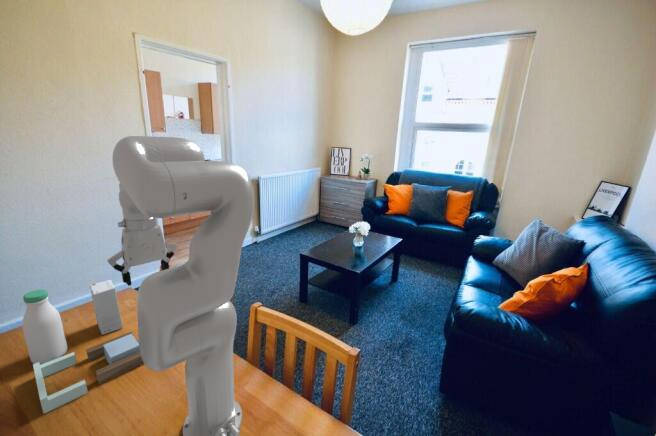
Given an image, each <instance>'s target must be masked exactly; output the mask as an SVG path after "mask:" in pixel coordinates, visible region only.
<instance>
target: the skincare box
mask: <svg viewBox="0 0 656 436" xmlns="http://www.w3.org/2000/svg"><path fill="white" fill-rule="evenodd" d="M89 289H90V293H91V299H92V304H93V308H94V313H95V314H94V315H95V319H96V323H97V326H98V328H99V331H100V333H101V335H102V336H103V335H107V334H109V333H113V332H117V331H118V330H121V329H123V327H124V326H123V321H122V316H121V312H120V307H119V302H118V297H117V291H116V288H115V285H114V283H113V281H112V279H108V280H104V281H100V282H96V283H92V284H90V285H89Z"/></svg>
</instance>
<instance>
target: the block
mask: <svg viewBox="0 0 656 436" xmlns="http://www.w3.org/2000/svg"><path fill="white" fill-rule="evenodd" d="M132 334H133V333H132ZM132 334H129V335H127V336H124V337H122V338H120V339H117V340H115V341H112V342H110V343H107V344H105V345H103V347H104V353H105V356H104V357H105V359H106V362H107V364H108V365H110V364H112V363H115V362H117V361H119V360H121V359H124V358H126V357H128V356H130V355H133V354H135V353H137V352H139V351H140V350H139V341H137V340H138V339H136V338H135V337H134V334H133V335H132Z"/></svg>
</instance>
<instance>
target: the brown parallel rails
mask: <svg viewBox="0 0 656 436" xmlns="http://www.w3.org/2000/svg"><path fill="white" fill-rule="evenodd" d="M129 334H132V335H133V336H134V334H133V332H132V331H130V332H127V333H124V334H122V335H119V336H116V337H115V338H112V339H111V338H110V339H109V340H106V341H104V342H101V343H98V344H96V345H93V346H92V347H88V348H86V350H85V351H86V355H87V360H88V361H89V363H90V362H92V361H95V360H97V359H100V358H102V357H105V353H104V347H103V345H105V344H107V343H110V342H112V341H115V340H117V339H120V338H122V337H124V336H127V335H129ZM141 365H145V364H144V362H143V360H142V358H141V355H140V351H139V352H137V353H135V354H133V355H130V356H128V357H126V358H124V359H121V360H119V361H117V362H115V363H112V364H110V365H109V364H108V365H106V366H104V367H101V368H99V369H97V370H95V375H96V379H97V380H96V381H97V382H98V385H102V384H104V383H106V382H109V381H111V380H112V379H114V378H116V377H118V376H120V375H123V374H124V373H125V374H126V373H127V372H129V371H131V370H133V369H135V368H137V367H139V366H141Z"/></svg>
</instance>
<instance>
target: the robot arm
mask: <svg viewBox="0 0 656 436" xmlns="http://www.w3.org/2000/svg"><path fill="white" fill-rule="evenodd" d="M112 167H113V171H114V173H115V176H116V178H117V179H118V182H119V185H118V186H119V189H118V190H119V192H118V201H119V205H120V207H121V209H122V215H123V217H122V221H119V222H117V227H118V228H122V231H121V250H119V251H118V252H116V253H115V254H113V255H112V256H111V257H109V258H107V260H106V261H107V263H108V264H109V265H110V266H111V267H112V268H113V269H114V270H116V271H118V272H120V273H121V277H122V282H123V283H124V284H127V286H128V287H129V286H132V277H131V272H130V270H131V268H132V267H135V266H141V265H144V264H149V263H153V262H158V261H160V267H161V269H160V270H159V271H156V272H154V273H152V274H150V275H148V276H147V277H145V279H143V280H142V281H141V284H140V285H139V287H138V292H137V302H136V303H137V331H138V332H137V333H138V337H137V338H138V339H137V340H138V343H139V350H140V355H141V358H142V360H143V362H144V364H143V365H145V366H146V368H147V369H149V370H150V371H153V372H162V371H167V370H168V369H171V368H173V367H175V366H177V365H180V364H181V363H183V362H185V367H184V372H185V383H186V394H187V405H188V407H187V408H188V415H186V417H185V420H184V422H183V426H182V436H240V435H241V431H240V429H241V426H240V425H242V422H243V411H242V407H241V405H240V403H239V402H238V401H236V399H235V380H234V379H235V378H234V377H235V376H234V374H235V373H234V372H235V371H234V341H235V335H236V330H237V324H238V323H237V322H238V319H237V311H236V308H235V305H234V304H233V302H232V301H231V299H232V297H233V295H234V292H235V290H236V289H235V288H236V285H237V284H236V283H237V279H238V272H239V268H240V262H241V261H240V260H241V256H242V255H241V254H242V248H243V245H244V241H245V239H246V236H247V234H248V232H249V229H250V225H251V223H252V219H253V216H254V211H255V191H254V186H253V183H252V179H251V177H250V175H249V173H248V172H247V170H245V169H244V168H243V167H242V166H240V165H239V164H236V163H233V162H230V161H222V160H205V154H204V152H203V151H202V149H201V148H200V147H199V146H198V144H196V143H195V142H193V141H191V140H190V139H186V138H182V137H175V136H149V135H147V136H145V135H130V136H125V137H123V138H120V139H119V141H117V143H116V144H115V146H114V148H113V151H112ZM206 212H210V214H209V215H208V216H207V217H206V218H205V220H204V221H203V222H202V223H201V224H200V225H199V227H198V228H197V230H196V231H195V233H194V234H193V235H192V238H191V240H190V243H189V247H188V248H189V251H188V252H189V254H188V259H187V261H186V262H185V263H183V264H181V265H177V266H174V267H170V265H169V262H170V261H171V259H172V258H173V256H175V251H177V250H176V249H177V245H176V244H175V243H170V242H169V243H168V242H165V239H164V235H163V234H164V233H163V231H162V228H161V225H159V224H158V223H157V219H165V218H166V219H167V218H174V217H181V216H186V215H194V214H198V213H206ZM167 249H168V251H167ZM120 259H122V260H123V262H122V264H121V265H120V264H119V263H117V262H118V261H119V260H120Z"/></svg>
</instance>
